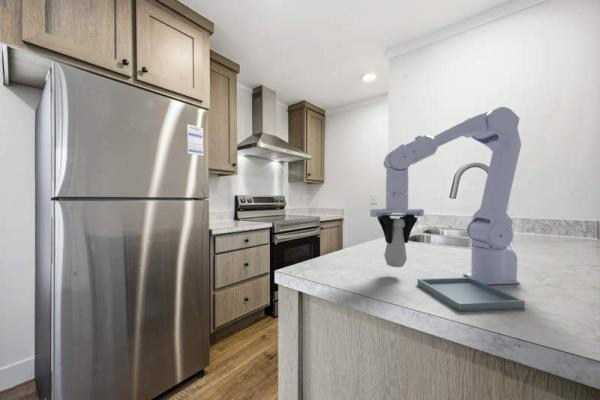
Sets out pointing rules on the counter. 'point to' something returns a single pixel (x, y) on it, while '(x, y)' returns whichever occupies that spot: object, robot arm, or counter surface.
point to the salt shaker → (396, 245)
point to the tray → (470, 294)
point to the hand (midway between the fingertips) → (396, 242)
